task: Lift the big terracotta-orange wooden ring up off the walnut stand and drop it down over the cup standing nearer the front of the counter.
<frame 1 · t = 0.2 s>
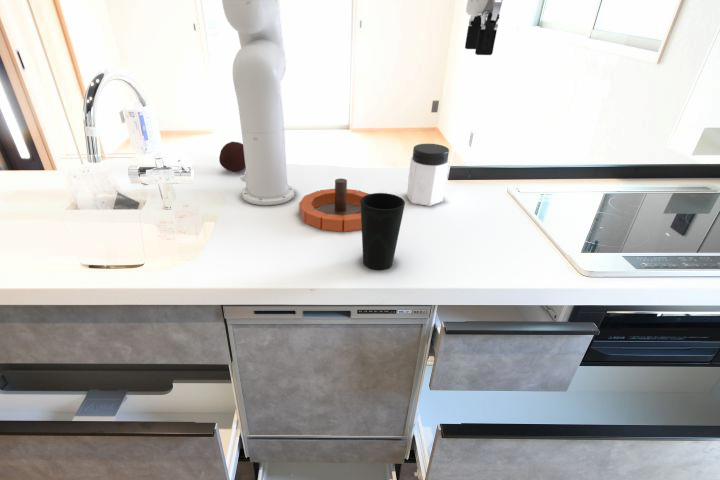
hand: (477, 51, 89), 31 cm above the worktop, tool pointing down, fingers open, 9 cm apart
ring: (340, 214, 101), on the worktop
cup: (377, 263, 84), on the worktop
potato: (236, 172, 123), on the worktop
jar: (424, 200, 109), on the worktop
stand: (340, 214, 101), on the worktop
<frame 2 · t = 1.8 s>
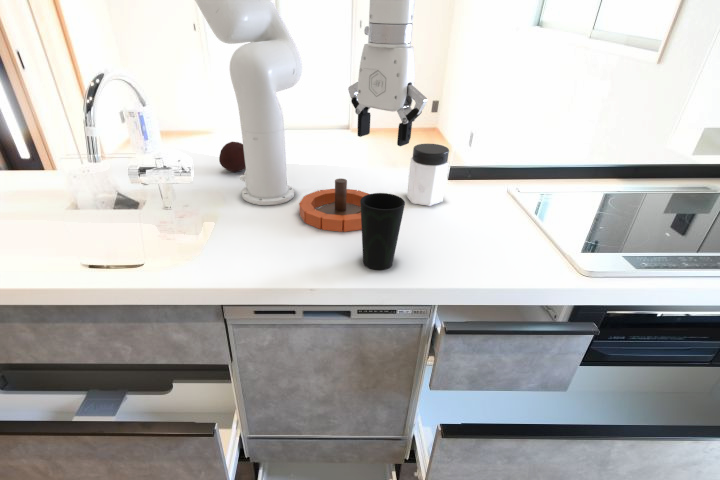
hand: (382, 139, 88), 17 cm above the worktop, tool pointing down, fingers open, 9 cm apart
nothing on the worktop moved.
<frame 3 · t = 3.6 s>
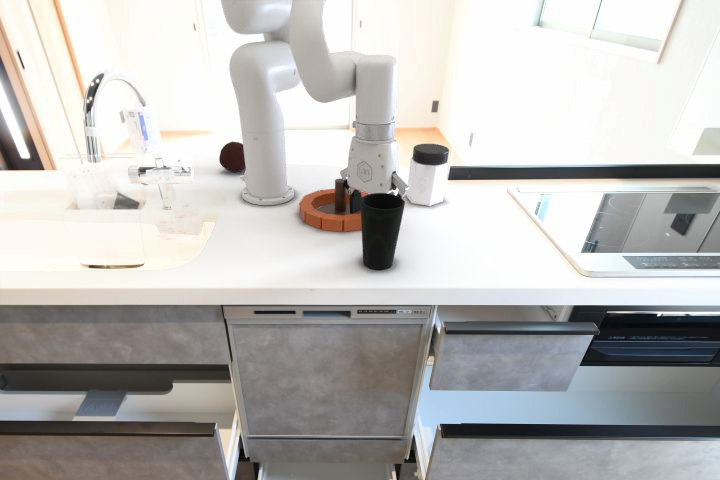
hand: (371, 217, 96), 2 cm above the worktop, tool pointing down, fingers open, 8 cm apart
nothing on the worktop moved.
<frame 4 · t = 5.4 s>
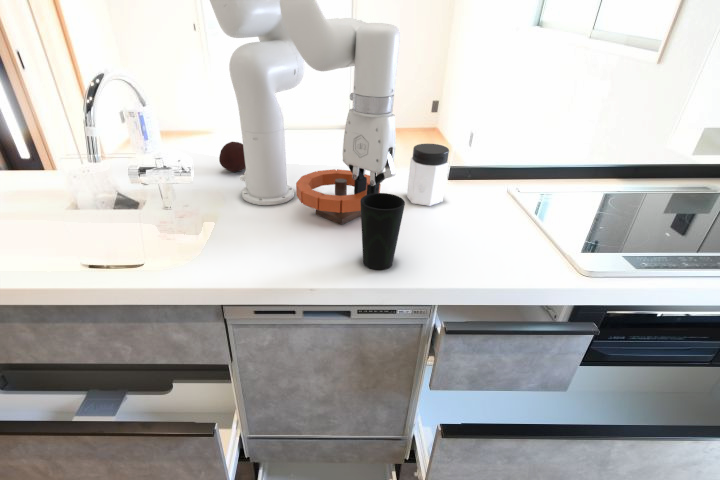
hand: (365, 198, 94), 6 cm above the worktop, tool pointing down, fingers closed on ring, 2 cm apart
ring: (338, 195, 99), point 4 cm above the worktop, touching gripper
everything else where it was.
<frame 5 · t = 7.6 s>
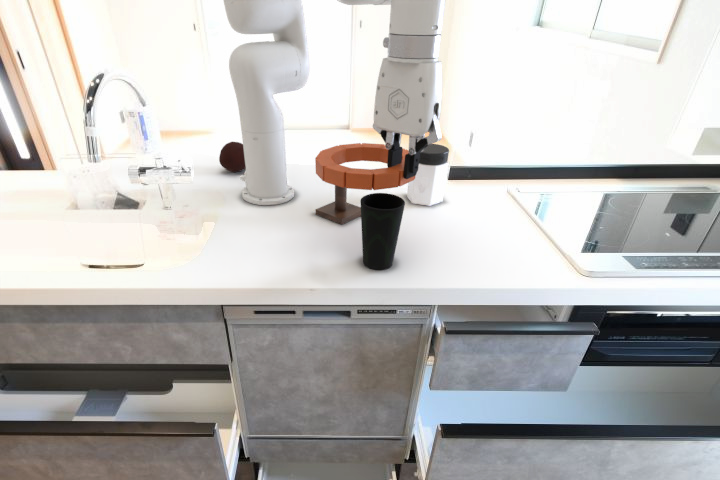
hand: (401, 173, 77), 16 cm above the worktop, tool pointing down, fingers closed on ring, 2 cm apart
ring: (366, 171, 82), point 14 cm above the worktop, touching gripper
everything else where it was.
when the fingers open (10 cm above the worktop, at t = 10.1 s): ring drops 8 cm, on the worktop.
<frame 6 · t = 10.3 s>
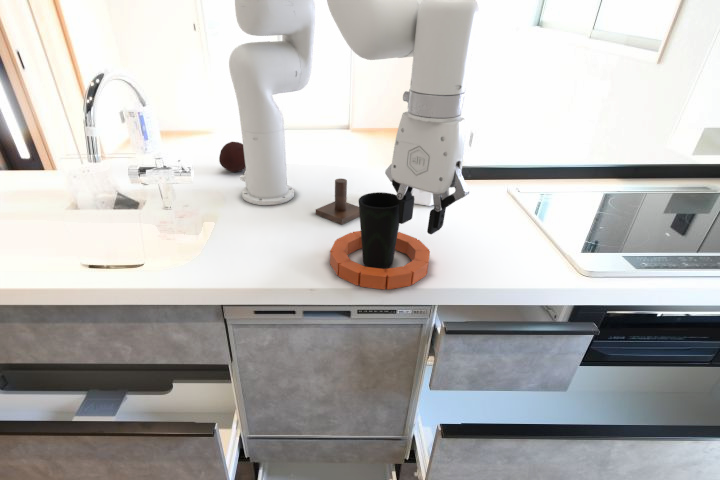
hand: (419, 225, 74), 10 cm above the worktop, tool pointing down, fingers open, 5 cm apart
ring: (379, 263, 84), on the worktop
cup: (377, 263, 84), on the worktop, touching gripper
everything else where it was.
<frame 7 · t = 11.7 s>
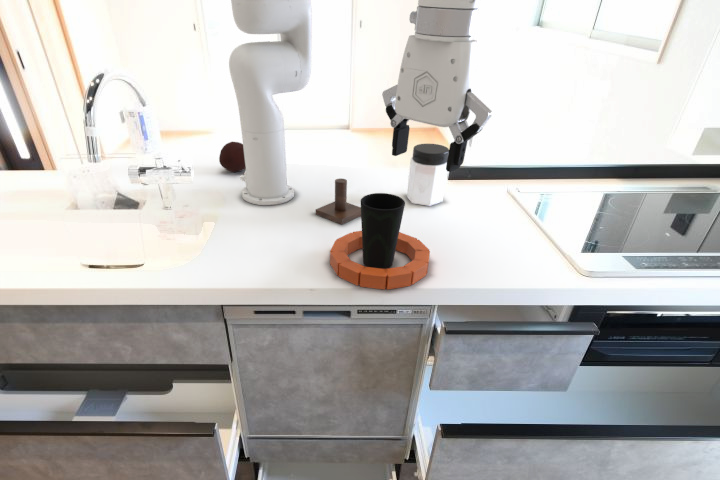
hand: (425, 161, 68), 20 cm above the worktop, tool pointing down, fingers open, 9 cm apart
cup: (377, 263, 84), on the worktop
everything else where it was.
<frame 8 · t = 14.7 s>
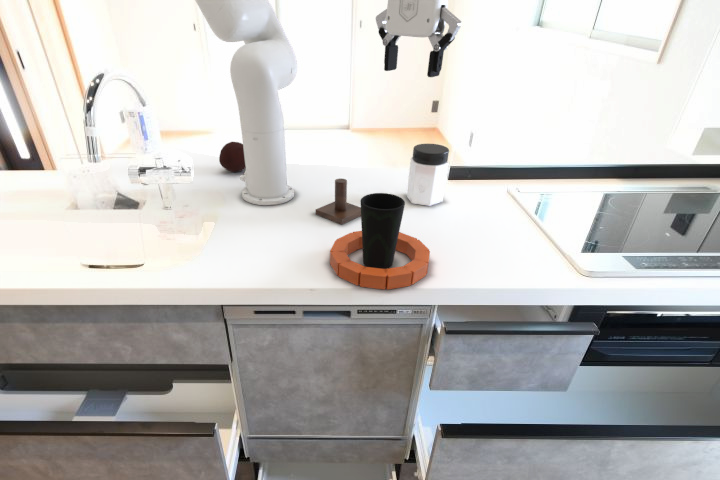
hand: (411, 73, 83), 28 cm above the worktop, tool pointing down, fingers open, 9 cm apart
nothing on the worktop moved.
at the end: ring moved 23.6 cm from its start; ring 0.3 cm off-centre in the cup, point 0.2 cm above the cup's base; cup tilted 0° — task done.
